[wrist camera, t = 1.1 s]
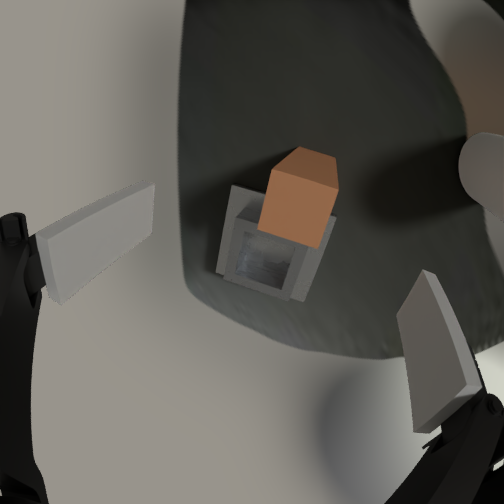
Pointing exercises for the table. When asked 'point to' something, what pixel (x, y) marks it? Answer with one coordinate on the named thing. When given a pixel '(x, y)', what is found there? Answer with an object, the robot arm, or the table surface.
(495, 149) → the beverage can
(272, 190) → the orange square peg
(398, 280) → the table surface
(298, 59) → the table surface
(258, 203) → the grey square socket
